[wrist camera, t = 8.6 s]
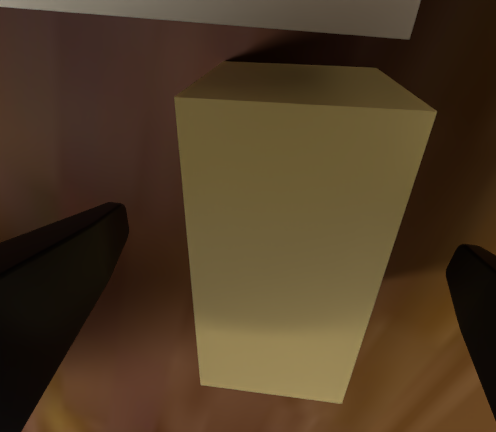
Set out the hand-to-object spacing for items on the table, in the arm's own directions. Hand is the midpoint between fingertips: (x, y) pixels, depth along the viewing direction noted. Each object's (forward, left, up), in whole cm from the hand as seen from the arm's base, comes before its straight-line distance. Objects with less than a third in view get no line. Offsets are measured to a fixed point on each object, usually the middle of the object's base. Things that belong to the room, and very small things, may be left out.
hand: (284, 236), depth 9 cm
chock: (0, 0, -2) cm, 2 cm away
